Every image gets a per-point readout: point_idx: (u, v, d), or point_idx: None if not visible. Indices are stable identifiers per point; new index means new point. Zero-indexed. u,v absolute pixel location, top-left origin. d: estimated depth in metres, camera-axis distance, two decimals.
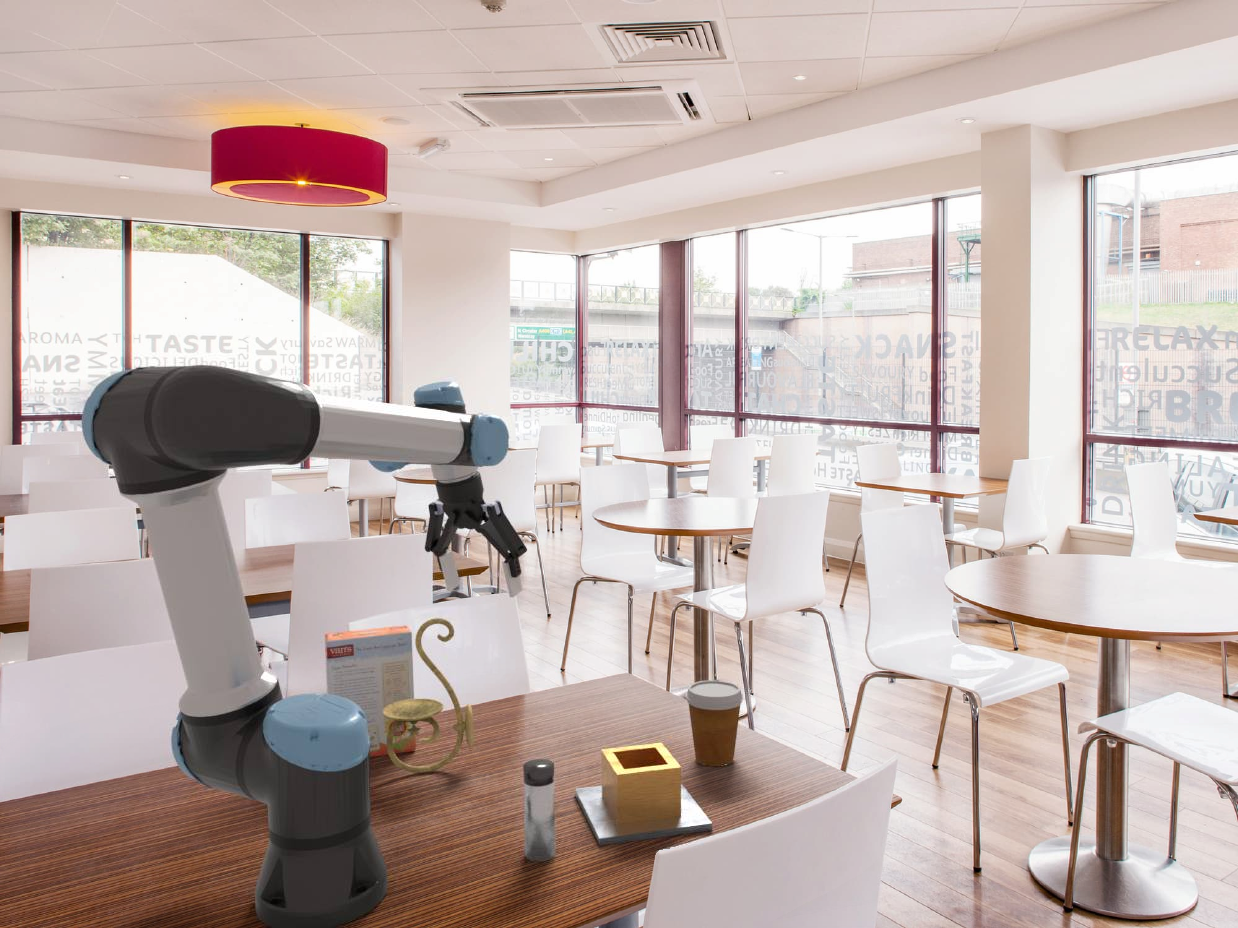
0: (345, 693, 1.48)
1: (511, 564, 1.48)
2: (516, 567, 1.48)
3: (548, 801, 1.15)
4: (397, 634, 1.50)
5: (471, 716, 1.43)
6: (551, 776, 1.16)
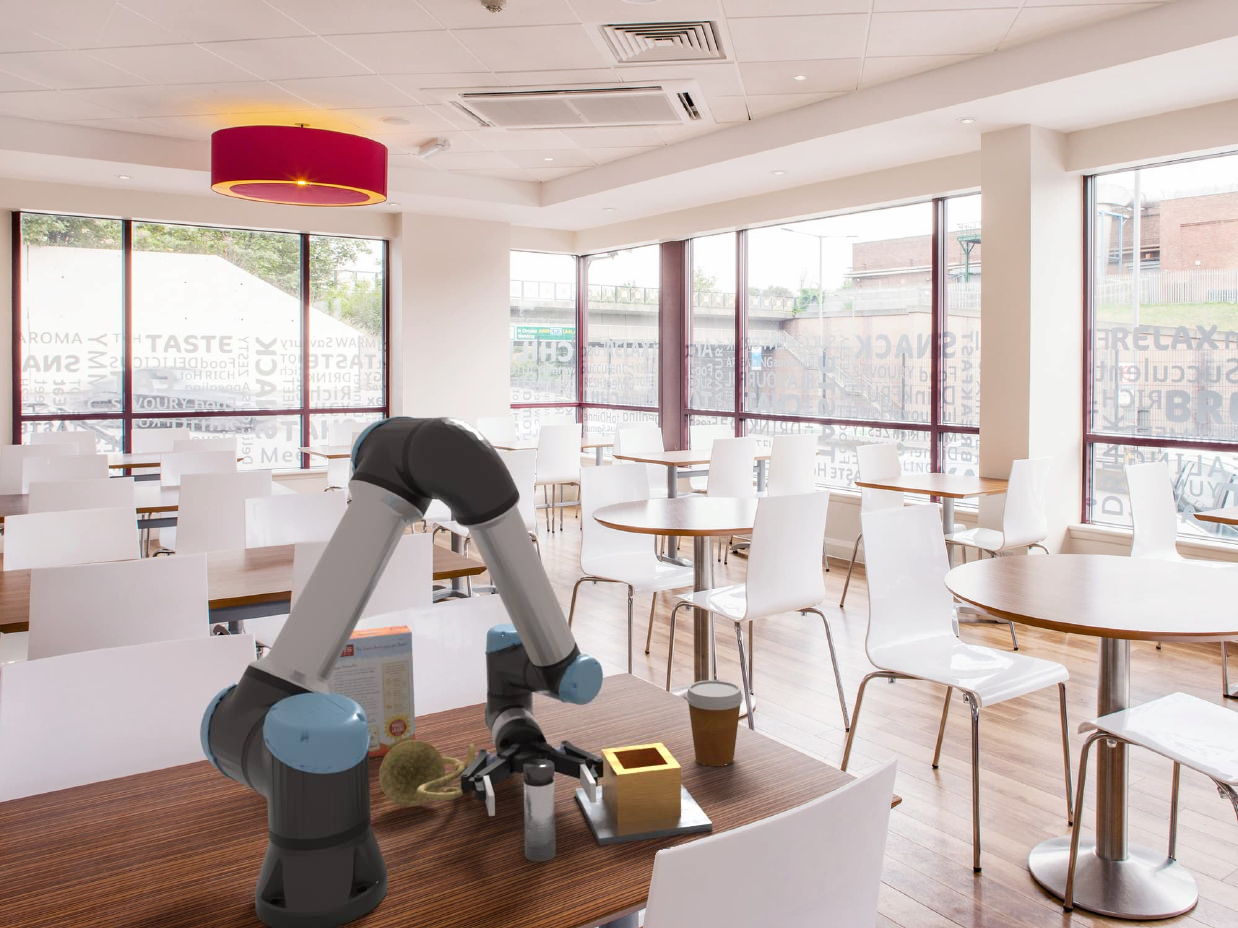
0: (345, 693, 1.48)
1: (589, 769, 1.26)
2: None
3: (548, 801, 1.15)
4: (397, 634, 1.50)
5: None
6: (551, 776, 1.16)
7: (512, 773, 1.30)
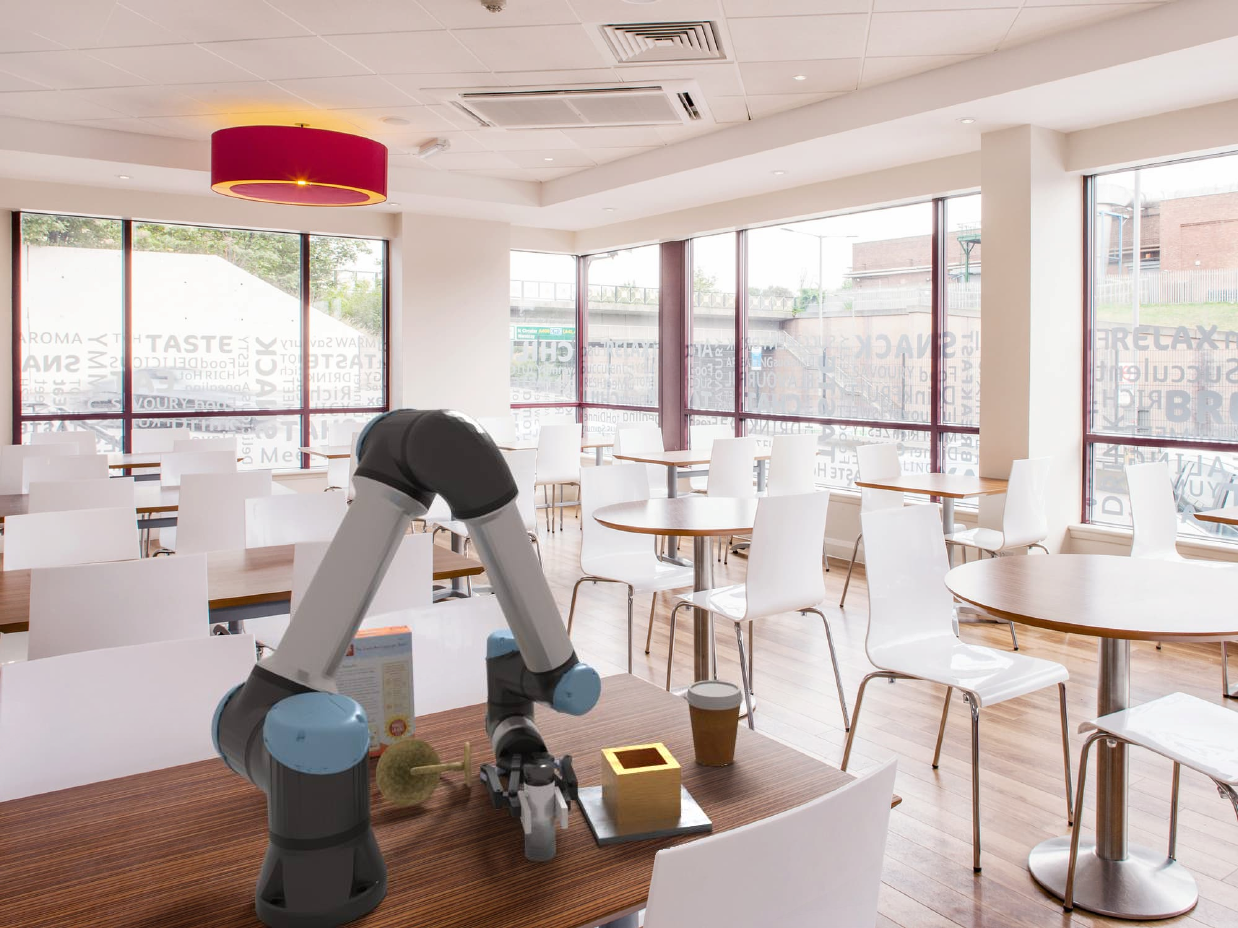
0: (345, 693, 1.48)
1: (562, 792, 1.18)
2: None
3: (548, 801, 1.15)
4: (397, 634, 1.50)
5: (470, 781, 1.35)
6: (551, 776, 1.16)
7: None
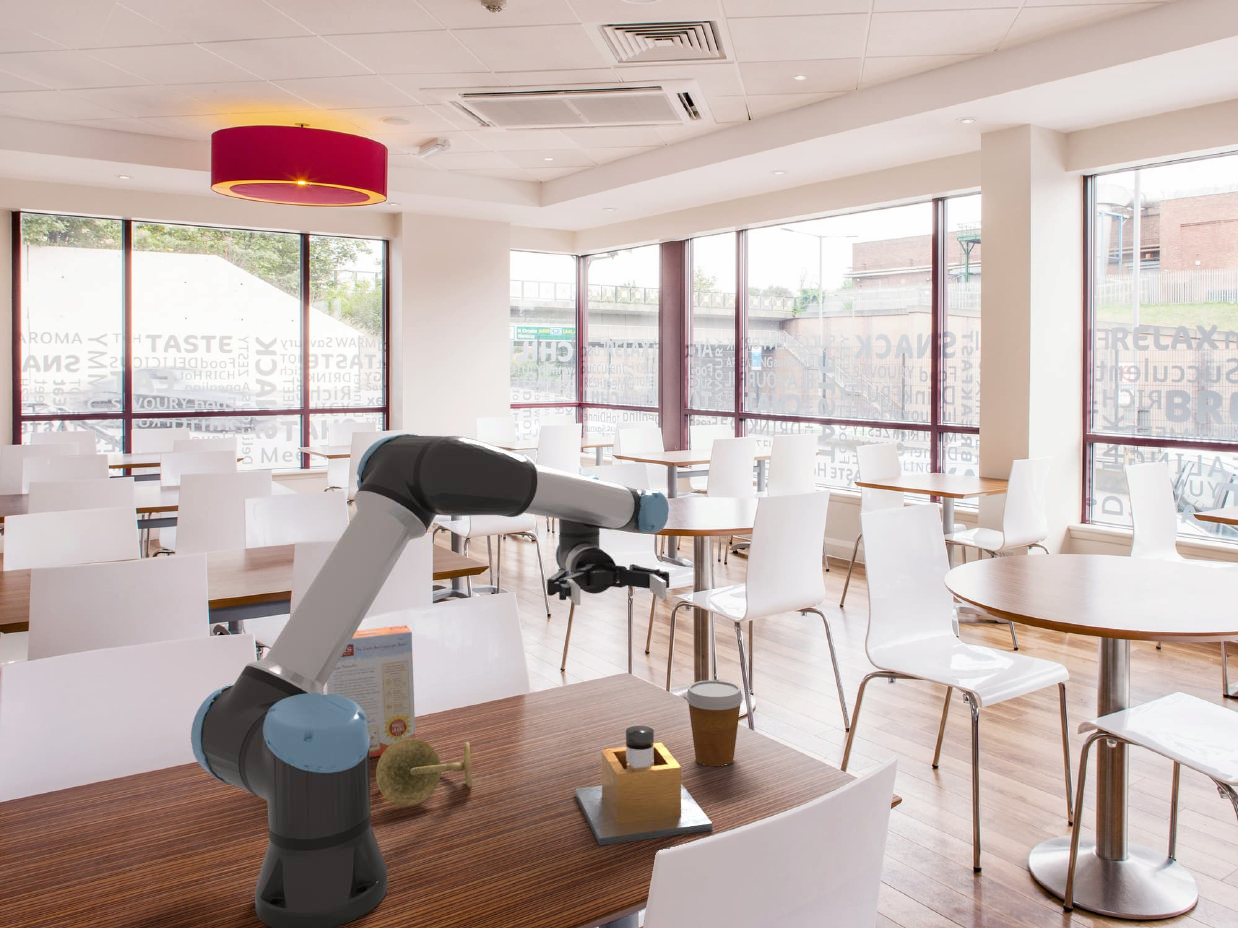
0: (345, 693, 1.48)
1: None
2: None
3: (649, 763, 1.27)
4: (397, 634, 1.50)
5: (470, 781, 1.35)
6: (652, 740, 1.27)
7: (588, 586, 1.48)
